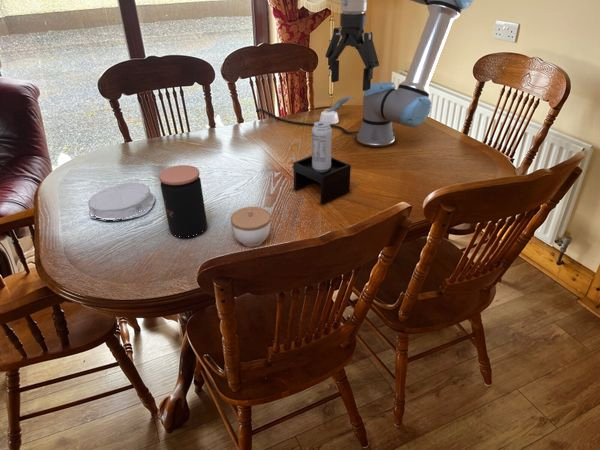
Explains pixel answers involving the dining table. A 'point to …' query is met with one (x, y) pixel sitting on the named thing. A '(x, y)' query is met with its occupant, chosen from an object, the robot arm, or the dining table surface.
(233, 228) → the trinket box
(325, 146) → the energy drink can
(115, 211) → the food container
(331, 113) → the inkwell
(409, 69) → the robot arm
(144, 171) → the dining table surface
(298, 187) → the stand
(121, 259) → the dining table surface
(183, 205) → the coffee jar
